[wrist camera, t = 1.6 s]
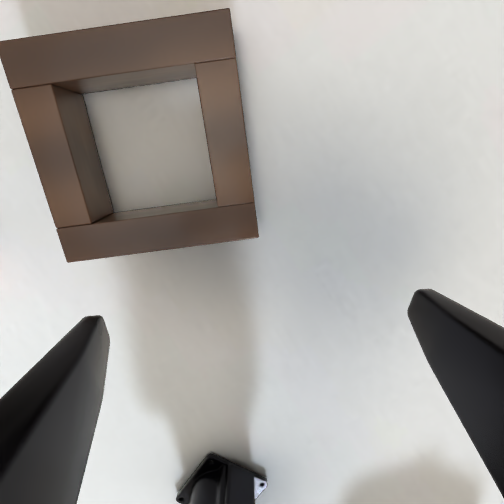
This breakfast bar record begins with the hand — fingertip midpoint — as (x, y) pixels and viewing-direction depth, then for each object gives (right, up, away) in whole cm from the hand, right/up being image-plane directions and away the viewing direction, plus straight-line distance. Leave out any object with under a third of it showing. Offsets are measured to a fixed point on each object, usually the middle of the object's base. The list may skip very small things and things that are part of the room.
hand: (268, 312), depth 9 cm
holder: (-7, +9, +12) cm, 16 cm away
